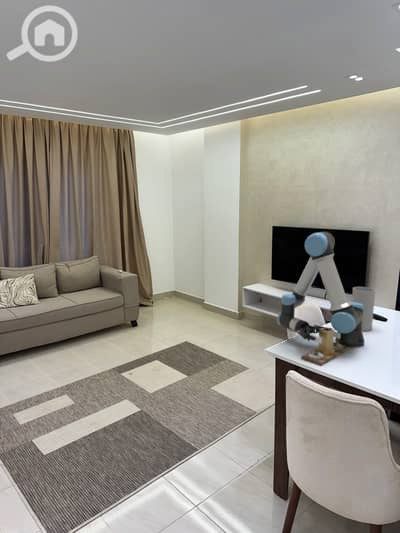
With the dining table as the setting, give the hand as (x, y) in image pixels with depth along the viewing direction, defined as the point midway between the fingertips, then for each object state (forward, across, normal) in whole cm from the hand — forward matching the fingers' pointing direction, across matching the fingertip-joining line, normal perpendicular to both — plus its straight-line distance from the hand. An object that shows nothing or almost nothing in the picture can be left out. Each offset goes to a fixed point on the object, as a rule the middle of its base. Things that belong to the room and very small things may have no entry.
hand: (330, 338), depth 187 cm
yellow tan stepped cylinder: (-3, 0, -8) cm, 9 cm away
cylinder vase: (-20, -52, -10) cm, 57 cm away
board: (-3, 0, -10) cm, 10 cm away
